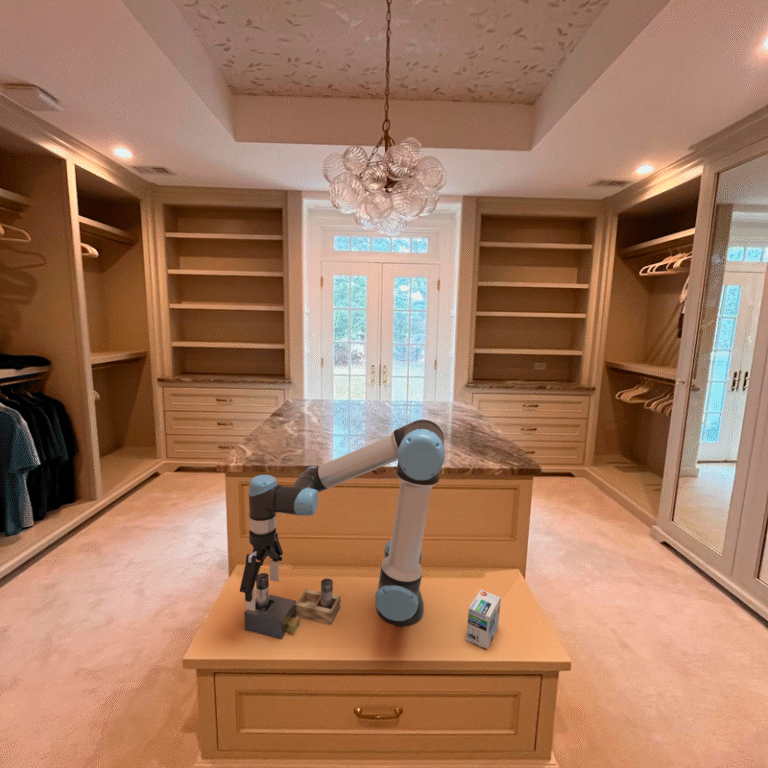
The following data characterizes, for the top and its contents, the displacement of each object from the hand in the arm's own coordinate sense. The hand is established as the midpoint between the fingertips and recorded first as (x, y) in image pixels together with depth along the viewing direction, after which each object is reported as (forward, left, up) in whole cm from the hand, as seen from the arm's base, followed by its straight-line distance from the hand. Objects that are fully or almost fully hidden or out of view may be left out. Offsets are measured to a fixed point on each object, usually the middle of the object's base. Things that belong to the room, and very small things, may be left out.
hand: (262, 594), depth 126 cm
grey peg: (0, 0, -6) cm, 6 cm away
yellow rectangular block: (-5, 0, -9) cm, 11 cm away
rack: (-14, -9, -9) cm, 19 cm away
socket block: (-3, 0, -9) cm, 10 cm away
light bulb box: (-65, -15, -10) cm, 67 cm away
